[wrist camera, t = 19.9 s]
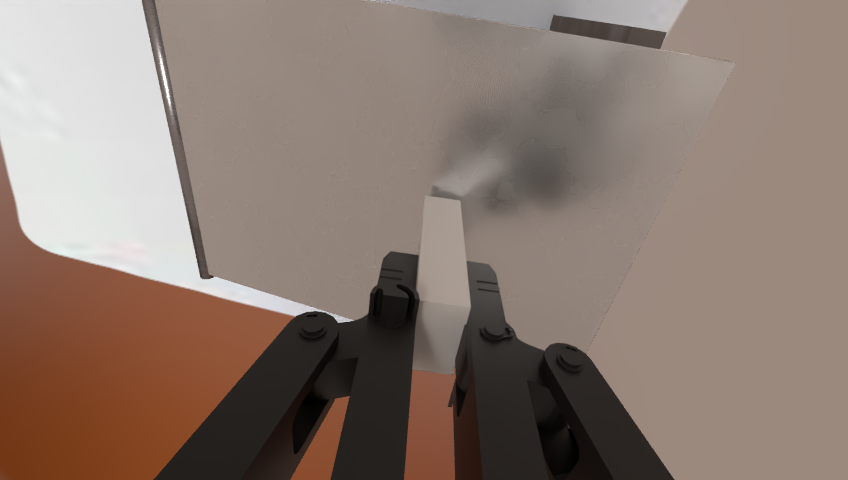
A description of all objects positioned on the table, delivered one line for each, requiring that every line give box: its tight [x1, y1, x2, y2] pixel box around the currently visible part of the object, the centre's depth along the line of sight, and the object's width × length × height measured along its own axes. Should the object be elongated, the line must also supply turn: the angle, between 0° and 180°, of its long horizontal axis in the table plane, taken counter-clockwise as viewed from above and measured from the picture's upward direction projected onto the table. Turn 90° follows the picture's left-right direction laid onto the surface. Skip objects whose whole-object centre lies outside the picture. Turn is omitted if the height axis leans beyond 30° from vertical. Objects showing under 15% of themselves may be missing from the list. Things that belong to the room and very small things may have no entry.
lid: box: [142, 0, 735, 354], centre depth 18 cm, size 16×22×1 cm
